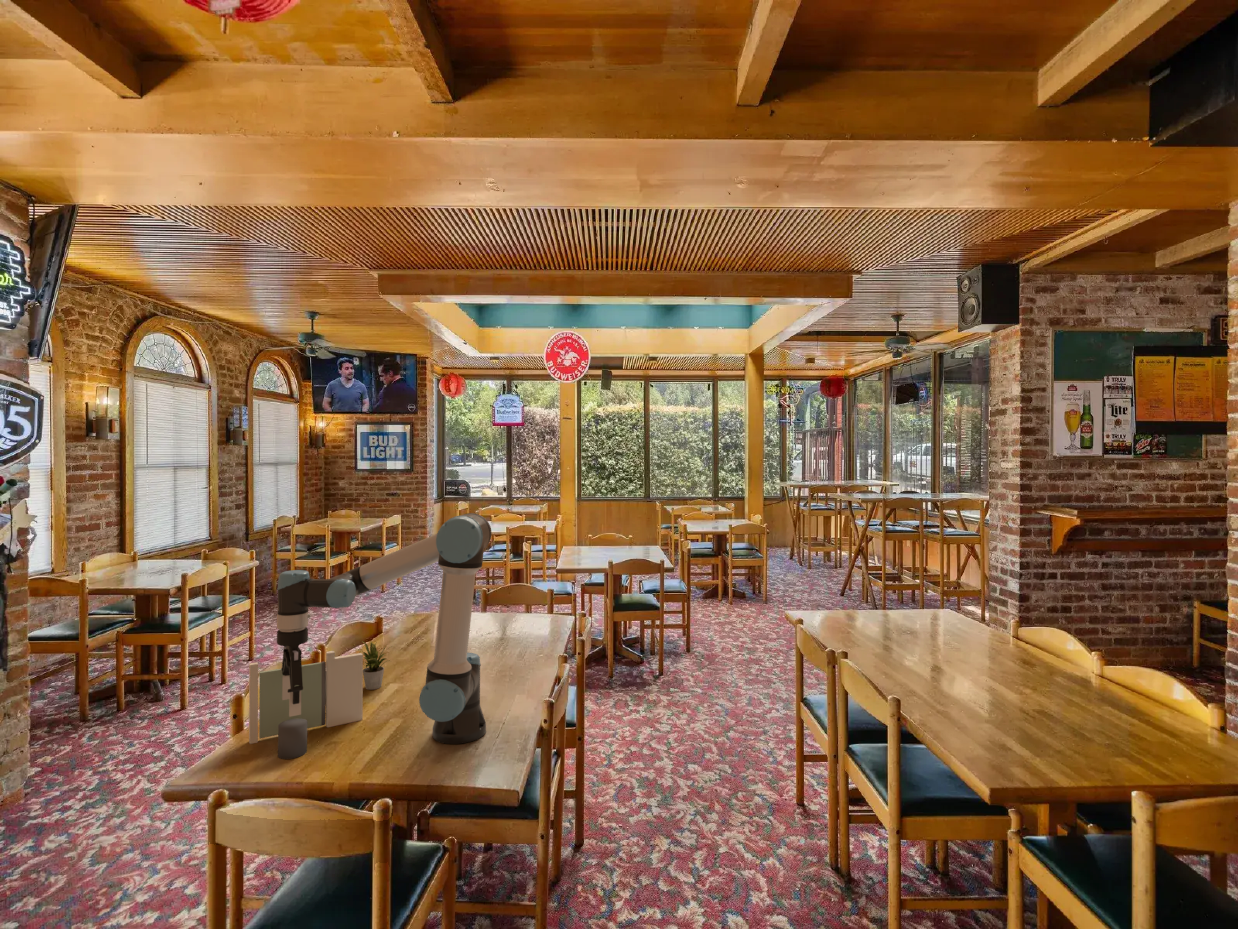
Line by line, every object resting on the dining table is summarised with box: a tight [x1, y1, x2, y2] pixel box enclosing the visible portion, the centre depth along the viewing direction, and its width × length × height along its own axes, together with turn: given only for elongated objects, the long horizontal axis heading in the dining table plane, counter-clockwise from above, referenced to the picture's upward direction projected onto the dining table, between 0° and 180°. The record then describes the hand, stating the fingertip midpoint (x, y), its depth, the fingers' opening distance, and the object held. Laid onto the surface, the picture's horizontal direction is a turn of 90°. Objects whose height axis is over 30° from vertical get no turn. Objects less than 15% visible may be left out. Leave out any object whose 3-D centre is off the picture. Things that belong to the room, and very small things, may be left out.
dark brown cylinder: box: [277, 719, 308, 760], centre depth 173 cm, size 7×7×8 cm
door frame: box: [248, 650, 364, 745], centre depth 188 cm, size 2×30×22 cm, turn 125°
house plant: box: [350, 640, 393, 691], centre depth 224 cm, size 14×14×16 cm
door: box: [258, 661, 326, 739], centre depth 186 cm, size 1×17×18 cm, turn 124°
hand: (291, 707), depth 173 cm, fingers open, 13 cm apart
